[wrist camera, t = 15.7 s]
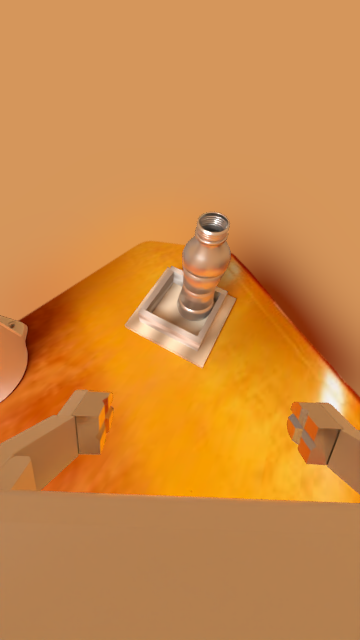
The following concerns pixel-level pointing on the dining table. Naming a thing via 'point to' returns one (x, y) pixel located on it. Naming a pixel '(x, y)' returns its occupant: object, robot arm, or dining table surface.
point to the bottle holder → (179, 319)
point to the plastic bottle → (204, 266)
